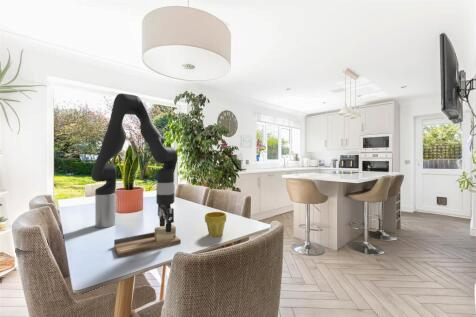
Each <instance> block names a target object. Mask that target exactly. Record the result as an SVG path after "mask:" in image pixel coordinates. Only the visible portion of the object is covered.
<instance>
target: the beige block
mask: <svg viewBox="0 0 476 317" xmlns="http://www.w3.org/2000/svg"><path fill="white" fill-rule="evenodd" d="M154 232H155V240H156V241H157V242H160V241H165V240H170V239H174V238H176V236H177V234H176V233H177V232H176V226H175V225H174V224H171V232H168V233H167V232H166V225H165V226H162V227H160V226H158V227H154Z"/></svg>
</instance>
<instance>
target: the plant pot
mask: <svg viewBox="0 0 476 317" xmlns="http://www.w3.org/2000/svg"><path fill="white" fill-rule="evenodd" d="M204 222H205V223H206V226H207V231H208V236H210V237H220V236H222V235H223V234H224V228H225V223H226V222H227V214H226V213H225V212H223V211H211V212H207V213H205V214H204Z"/></svg>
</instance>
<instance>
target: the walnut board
mask: <svg viewBox="0 0 476 317" xmlns="http://www.w3.org/2000/svg"><path fill="white" fill-rule="evenodd" d="M181 241H182V240H181V239H180V238H179V237H178V236H177V235H176V238H174V239H170V240H165V241H160V242H157V241H156V240H155V231H154V232H148V233H143V234H138V235H133V236H132V235H131V236H125V237H122V238H116V239H114V240H113V242H114V243H113V248H114V249H115V252H117V253H116V255H117V257H118V258H123V257H127V256H132V255H136V253H137V254H141V253H144V252H148V251H153V250H157V249H161V248H166V247H170V246H174V245H175V246H176V245H178V244H181V243H182V242H181ZM140 252H141V253H140Z"/></svg>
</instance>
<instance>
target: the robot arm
mask: <svg viewBox="0 0 476 317" xmlns="http://www.w3.org/2000/svg"><path fill="white" fill-rule="evenodd" d="M126 115H132V116H133V115H134V116H136V118H137V119H138V120H139V123H140V128H139V129H140V134H141V135H142V138H143V139H144V140H145V143H147V145H148V148H149V150H150V153H151V156H152V158H153V159H154V161H155V162H157V163H159V164H163V165H162V167H161V168H159V169H158V170H157V174H156V176H157V177H156V178H157V179H156V180H157V181H156V182H157V183H156V200H155V201H156V204H157V216H158V218H159V227H162V226H166V232H167V233H168V232H171V225H172V223H175V219H174V218H175V216H174V215H175V213H174V207H171V205H172V204H174V203H175V189H176V188H175V170H176V167H177V164H178V158H179V157H178V152H177V150H176V149H175V148H174V147H172V146H164V145H163V144H164V142H165V138H164V137H163V135H162V134H161V132H160V131H159V130H158V129H157V127H156V126H155V124H154V123H153V120H152V119H151V117H150V114H149V112H148V110H147V108H146V106H145V104H144V102H143V101H142V99H141V98H140V97H139V96H138V95H134V94H129V93H118V94H117V95H116V96H115V98H114V100H113V104H112V108H111V114H110V117H109V118H110V119H109V123H108V125H107V128H106V131H105V134H104V137H103V140H102V144H101V147H100V150H99V152H98V155H97V157H96V159H95V161H94V164H93V166H92V169H91V179H92V180H93V181H94V182H98V183H99V182H105V183H104V184H103V185H102V186H99V187H97V188H96V189H95V193H94V194H95V195H94V196H95V198H94V199H95V202H94V203H95V206H94V207H95V210H94V211H95V222H94V223H95V228H97V229H99V228H100V229H103V228H109V227H112V226H115V225H116V189H117V173H118V172H117V166H116V165H115V164H114V163H108V162H109V161H111V160H112V159H113V158H114V157H116V156H117V155H118V154H119V153H120V152H121V151H122V150H123V147H124V145H125V142H126V140H127V135H126V132H125V129H124V126H123V121H124V118H125V116H126Z"/></svg>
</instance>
